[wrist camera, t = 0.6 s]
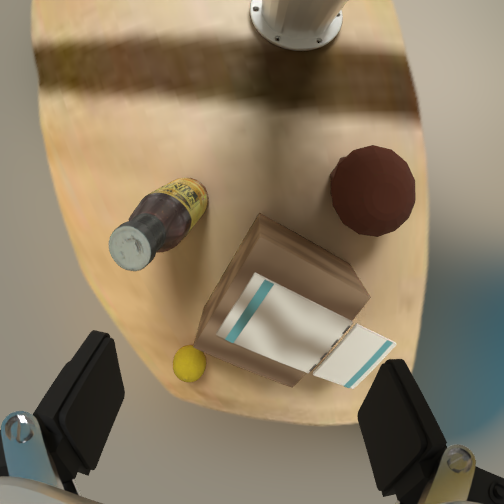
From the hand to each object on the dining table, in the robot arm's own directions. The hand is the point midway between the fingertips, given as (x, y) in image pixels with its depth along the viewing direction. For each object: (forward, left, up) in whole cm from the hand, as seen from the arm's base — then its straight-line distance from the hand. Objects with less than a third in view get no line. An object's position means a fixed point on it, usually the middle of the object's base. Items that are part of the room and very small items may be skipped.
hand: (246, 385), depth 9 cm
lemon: (+29, +4, -34) cm, 45 cm away
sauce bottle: (+5, -8, -34) cm, 36 cm away
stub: (+11, +23, -24) cm, 35 cm away
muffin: (-9, +12, -34) cm, 37 cm away
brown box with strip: (+11, +10, -34) cm, 37 cm away
